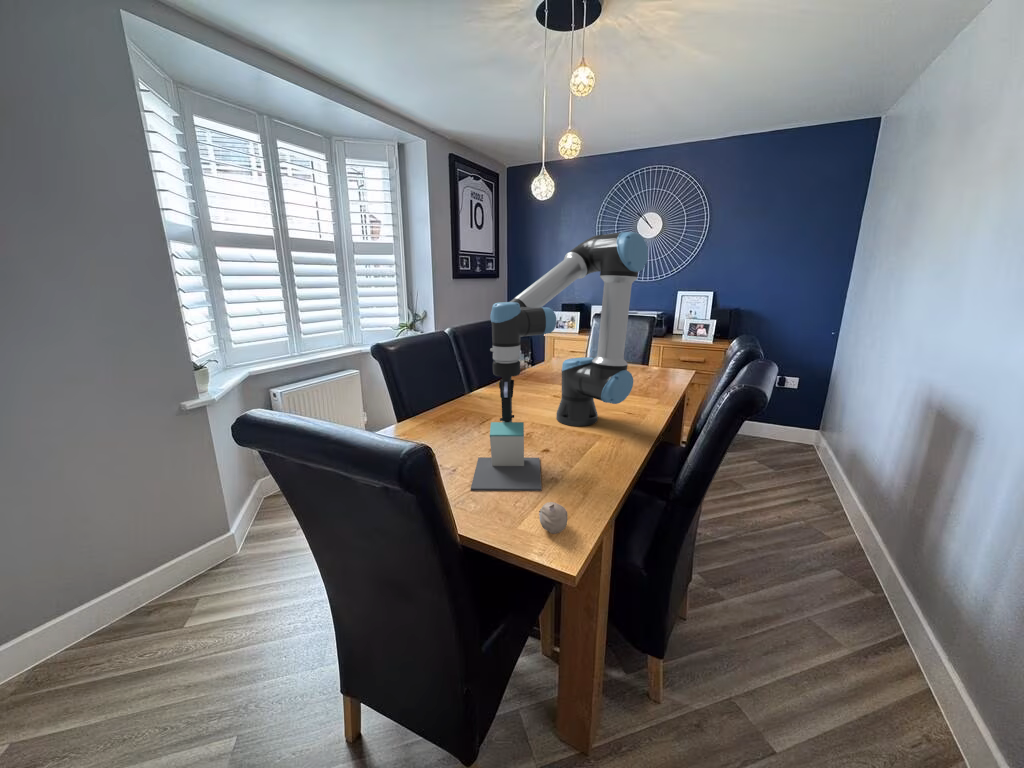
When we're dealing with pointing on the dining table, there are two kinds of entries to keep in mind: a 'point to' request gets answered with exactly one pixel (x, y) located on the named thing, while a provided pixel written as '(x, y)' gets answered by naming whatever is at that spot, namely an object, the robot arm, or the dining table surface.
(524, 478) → the rubber mat
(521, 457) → the grey teal block
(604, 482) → the dining table surface
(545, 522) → the garlic bulb
